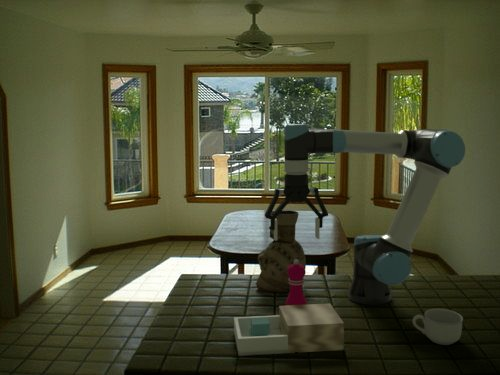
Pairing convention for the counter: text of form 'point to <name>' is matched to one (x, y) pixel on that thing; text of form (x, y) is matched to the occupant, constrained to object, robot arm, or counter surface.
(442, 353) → the counter surface
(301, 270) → the pepper mill
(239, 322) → the tray
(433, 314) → the teacup
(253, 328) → the tile
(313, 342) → the light wood block
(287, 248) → the ceramic vessel
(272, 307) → the counter surface
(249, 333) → the tile
